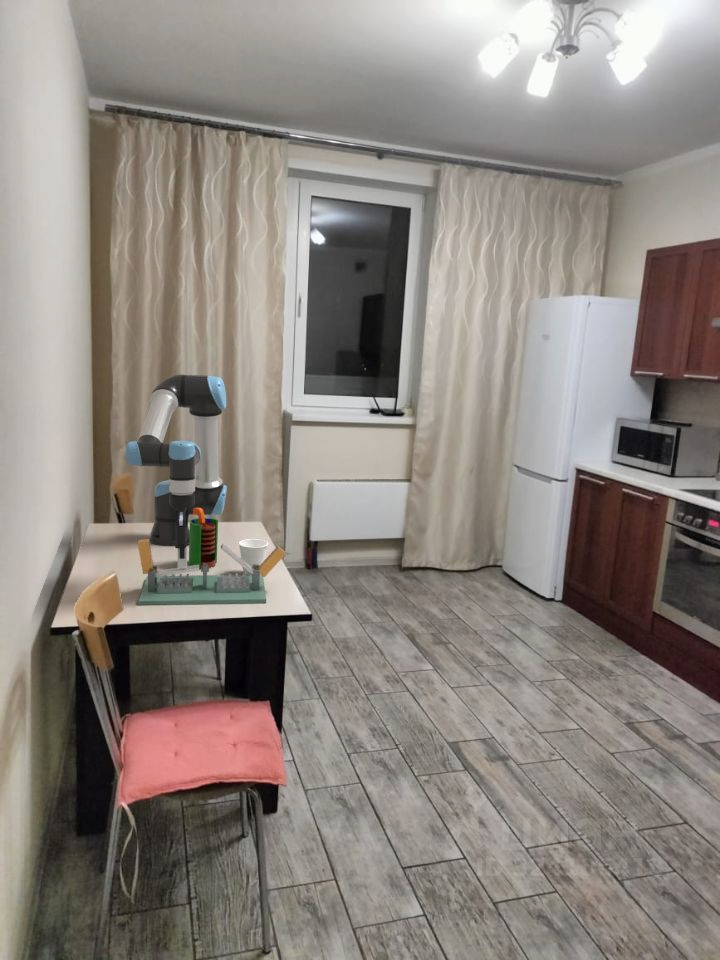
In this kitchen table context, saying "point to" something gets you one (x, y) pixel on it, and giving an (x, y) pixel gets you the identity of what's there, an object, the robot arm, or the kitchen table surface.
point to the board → (203, 593)
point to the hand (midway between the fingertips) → (182, 567)
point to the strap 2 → (266, 564)
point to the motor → (203, 540)
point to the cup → (253, 552)
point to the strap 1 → (148, 562)
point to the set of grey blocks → (186, 583)
